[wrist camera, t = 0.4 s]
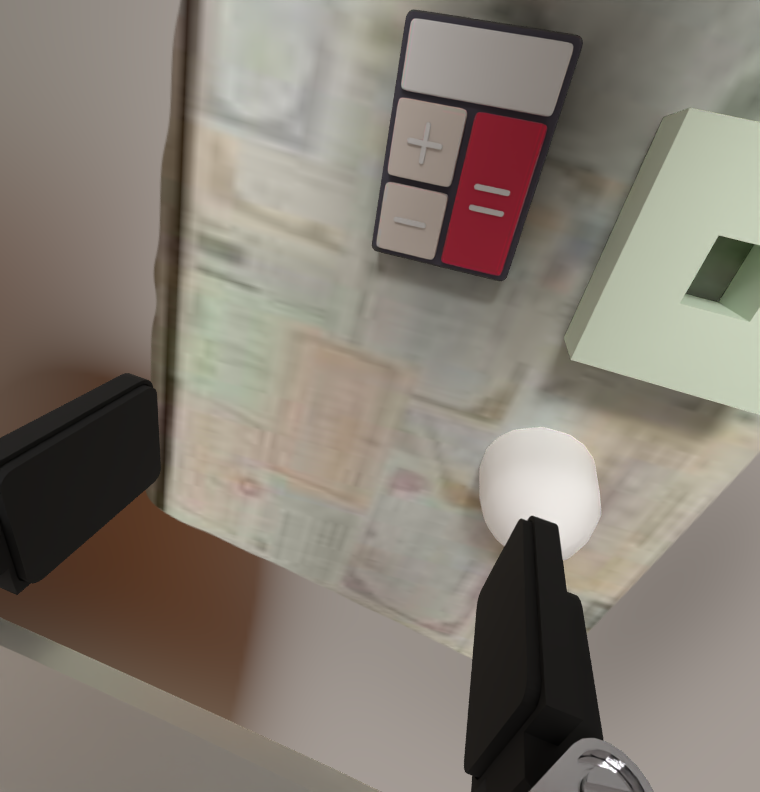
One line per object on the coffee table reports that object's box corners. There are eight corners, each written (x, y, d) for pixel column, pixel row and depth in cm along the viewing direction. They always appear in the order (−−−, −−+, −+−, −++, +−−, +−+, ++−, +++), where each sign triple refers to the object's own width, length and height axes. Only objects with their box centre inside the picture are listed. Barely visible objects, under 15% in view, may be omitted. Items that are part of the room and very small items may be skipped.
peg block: (663, 117, 29) (690, 107, 24) (896, 166, 27) (969, 165, 23) (563, 337, 37) (570, 359, 32) (738, 387, 35) (770, 418, 31)
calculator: (367, 252, 35) (403, 4, 27) (382, 242, 38) (417, 20, 30) (505, 285, 33) (587, 32, 25) (506, 271, 37) (579, 46, 28)
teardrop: (476, 509, 47) (466, 604, 37) (481, 421, 42) (472, 501, 32) (587, 524, 44) (610, 631, 34) (606, 431, 39) (640, 523, 29)
